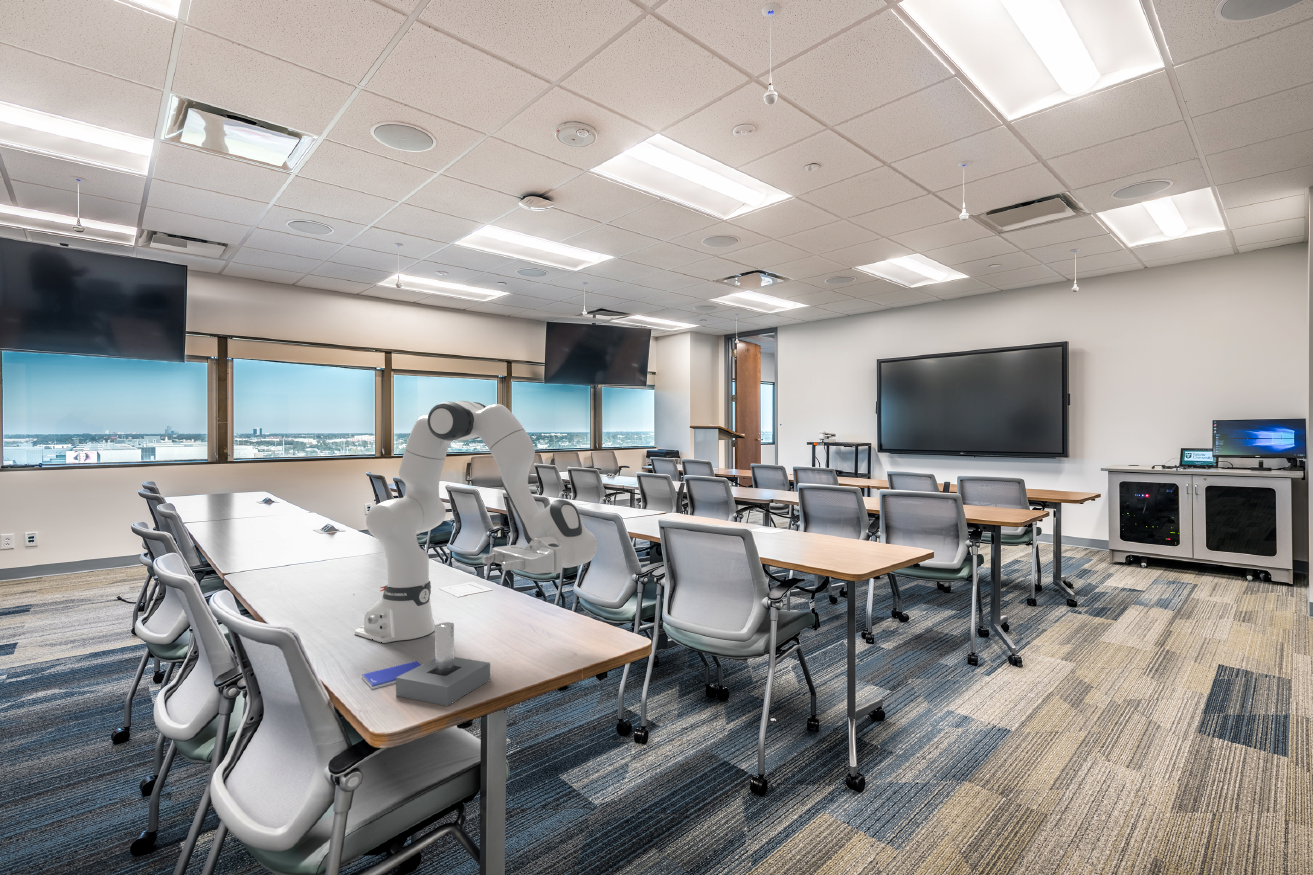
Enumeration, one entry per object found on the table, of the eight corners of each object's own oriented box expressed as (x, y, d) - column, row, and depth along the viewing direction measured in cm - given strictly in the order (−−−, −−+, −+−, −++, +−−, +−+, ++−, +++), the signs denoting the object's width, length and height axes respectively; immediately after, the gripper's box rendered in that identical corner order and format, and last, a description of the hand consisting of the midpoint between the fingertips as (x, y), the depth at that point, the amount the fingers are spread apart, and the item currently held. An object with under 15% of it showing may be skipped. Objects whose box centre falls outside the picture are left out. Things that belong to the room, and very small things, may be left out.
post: (431, 689, 129) (431, 626, 129) (444, 682, 133) (443, 621, 133) (445, 692, 127) (445, 628, 128) (458, 685, 131) (457, 623, 131)
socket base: (396, 695, 126) (396, 677, 126) (442, 671, 139) (441, 654, 139) (447, 706, 121) (447, 686, 121) (490, 679, 134) (490, 662, 134)
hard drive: (372, 684, 130) (428, 669, 138) (361, 673, 136) (416, 659, 144) (372, 691, 130) (428, 676, 138) (361, 680, 136) (416, 666, 144)
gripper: (520, 537, 156) (472, 544, 146) (565, 547, 141) (515, 556, 132) (520, 561, 156) (472, 569, 146) (565, 573, 141) (515, 583, 132)
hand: (493, 563), depth 139 cm, fingers open, 8 cm apart
